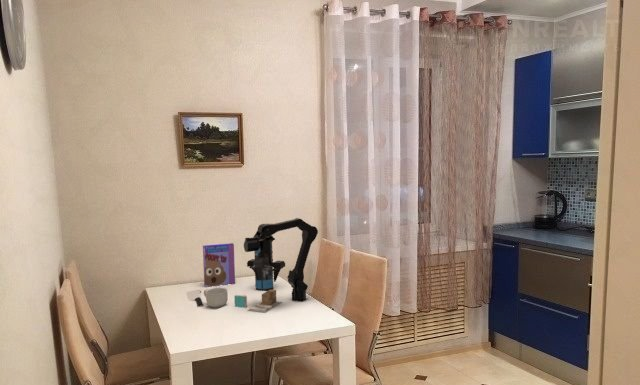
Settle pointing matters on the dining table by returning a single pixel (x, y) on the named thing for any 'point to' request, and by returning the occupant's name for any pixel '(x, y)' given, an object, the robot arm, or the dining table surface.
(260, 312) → the mat
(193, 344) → the dining table surface
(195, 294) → the kitchen cleaver
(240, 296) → the tile
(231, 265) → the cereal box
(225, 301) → the teacup
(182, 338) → the dining table surface
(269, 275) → the advertising column
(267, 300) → the turner
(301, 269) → the robot arm
